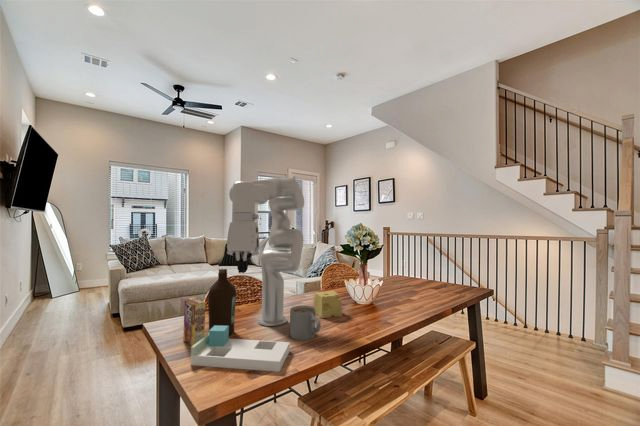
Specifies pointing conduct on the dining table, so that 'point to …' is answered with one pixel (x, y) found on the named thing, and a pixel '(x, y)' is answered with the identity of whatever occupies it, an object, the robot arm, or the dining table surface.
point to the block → (218, 335)
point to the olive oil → (222, 302)
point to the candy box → (194, 320)
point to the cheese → (327, 304)
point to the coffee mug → (303, 322)
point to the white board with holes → (241, 354)
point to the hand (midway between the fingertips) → (242, 272)
